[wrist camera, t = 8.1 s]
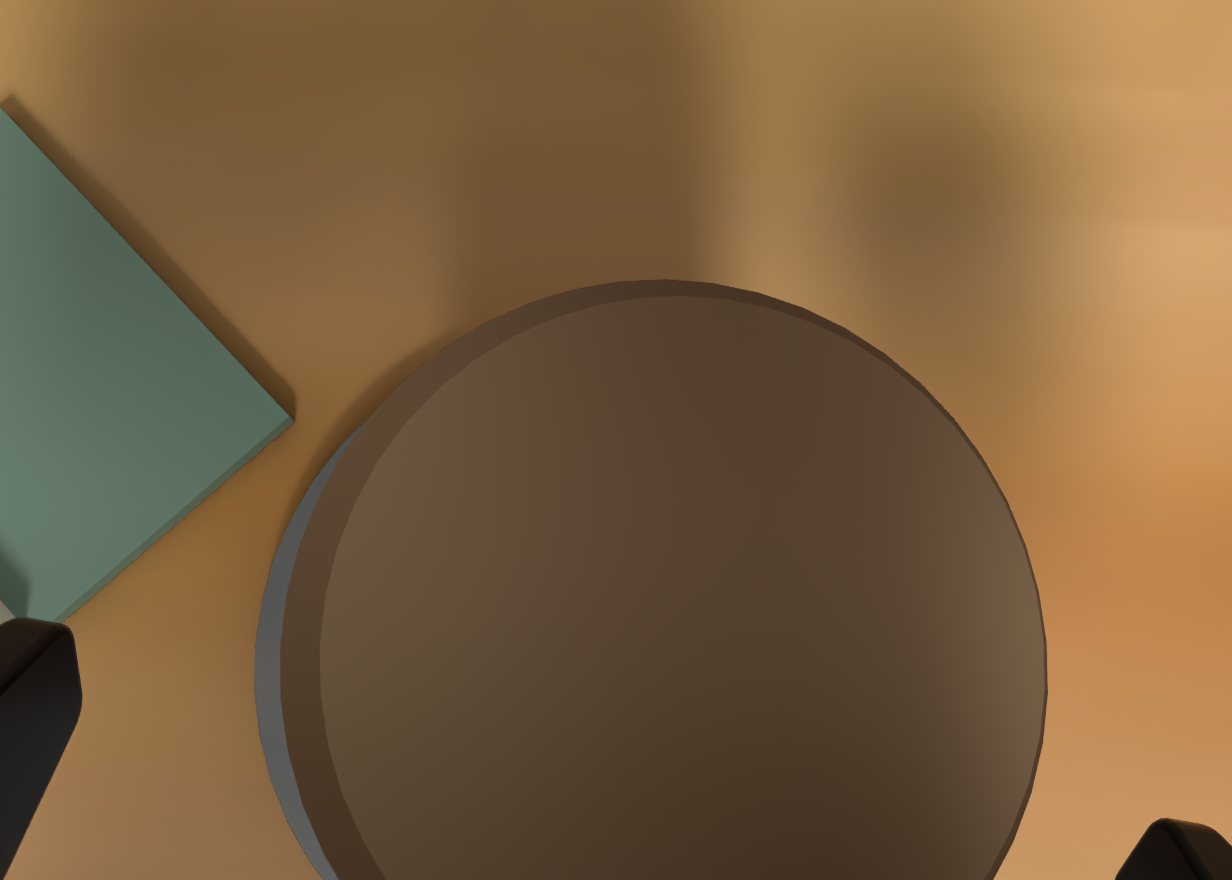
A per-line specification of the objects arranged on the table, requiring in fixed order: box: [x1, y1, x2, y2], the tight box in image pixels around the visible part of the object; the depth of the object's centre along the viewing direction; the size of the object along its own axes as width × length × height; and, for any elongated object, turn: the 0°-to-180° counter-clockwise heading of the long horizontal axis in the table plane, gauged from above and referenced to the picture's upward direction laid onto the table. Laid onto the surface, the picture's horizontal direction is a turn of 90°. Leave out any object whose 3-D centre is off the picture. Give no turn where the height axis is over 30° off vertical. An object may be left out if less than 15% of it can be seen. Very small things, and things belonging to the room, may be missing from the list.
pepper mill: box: [280, 280, 1048, 880], centre depth 12 cm, size 5×5×12 cm
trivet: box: [255, 417, 370, 880], centre depth 18 cm, size 11×11×1 cm
